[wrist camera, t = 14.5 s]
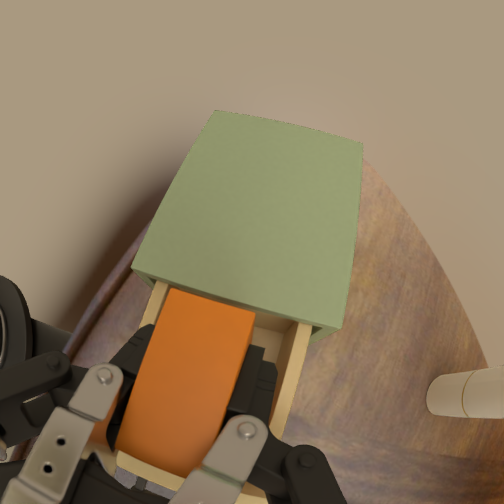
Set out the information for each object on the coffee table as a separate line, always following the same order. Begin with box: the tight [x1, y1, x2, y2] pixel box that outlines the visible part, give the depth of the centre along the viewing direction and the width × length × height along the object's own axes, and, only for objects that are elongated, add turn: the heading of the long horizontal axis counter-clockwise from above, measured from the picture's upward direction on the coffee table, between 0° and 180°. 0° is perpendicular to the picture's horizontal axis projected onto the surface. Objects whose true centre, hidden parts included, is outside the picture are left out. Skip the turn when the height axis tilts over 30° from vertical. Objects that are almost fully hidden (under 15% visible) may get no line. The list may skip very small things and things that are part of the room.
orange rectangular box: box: [115, 288, 256, 479], centre depth 11 cm, size 3×6×7 cm, turn 164°
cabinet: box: [131, 110, 363, 346], centre depth 22 cm, size 14×12×11 cm
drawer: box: [116, 280, 313, 504], centre depth 16 cm, size 17×10×9 cm, turn 164°
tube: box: [426, 365, 504, 418], centre depth 14 cm, size 4×4×15 cm
